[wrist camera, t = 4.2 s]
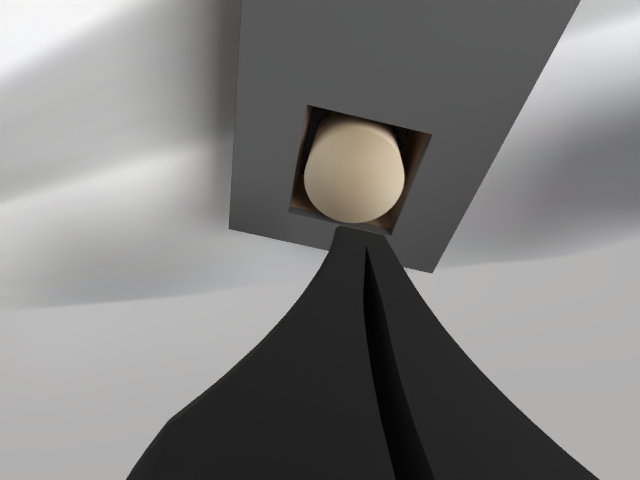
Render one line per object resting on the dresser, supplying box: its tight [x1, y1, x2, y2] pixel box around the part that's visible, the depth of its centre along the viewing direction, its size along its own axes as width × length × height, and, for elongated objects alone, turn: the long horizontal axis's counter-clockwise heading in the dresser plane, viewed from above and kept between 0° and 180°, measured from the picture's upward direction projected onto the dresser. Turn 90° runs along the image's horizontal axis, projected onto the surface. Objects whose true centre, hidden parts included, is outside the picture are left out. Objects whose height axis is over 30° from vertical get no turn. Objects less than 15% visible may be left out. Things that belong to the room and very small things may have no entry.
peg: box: [304, 111, 404, 223], centre depth 15 cm, size 4×4×4 cm
